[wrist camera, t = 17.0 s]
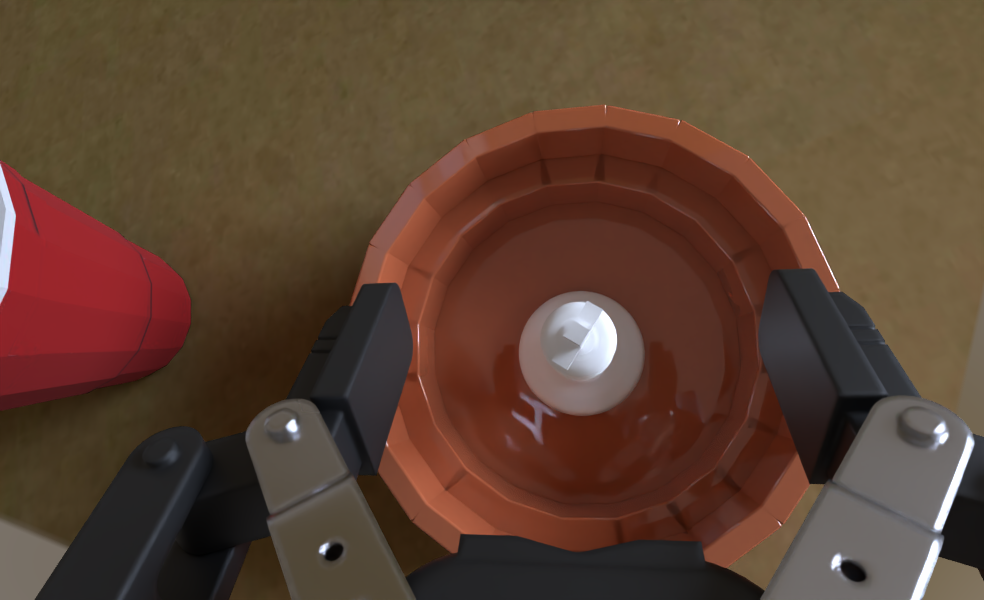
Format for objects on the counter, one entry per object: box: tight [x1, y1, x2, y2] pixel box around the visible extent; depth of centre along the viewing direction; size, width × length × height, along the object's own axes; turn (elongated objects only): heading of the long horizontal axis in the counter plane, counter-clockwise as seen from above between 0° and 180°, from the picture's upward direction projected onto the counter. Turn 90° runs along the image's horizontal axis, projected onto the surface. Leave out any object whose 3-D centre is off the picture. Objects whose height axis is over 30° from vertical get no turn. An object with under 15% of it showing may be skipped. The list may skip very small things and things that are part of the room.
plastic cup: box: [0, 160, 191, 411], centre depth 21 cm, size 11×11×12 cm
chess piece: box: [519, 291, 645, 416], centre depth 18 cm, size 5×5×10 cm
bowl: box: [349, 105, 840, 568], centre depth 21 cm, size 16×16×6 cm
